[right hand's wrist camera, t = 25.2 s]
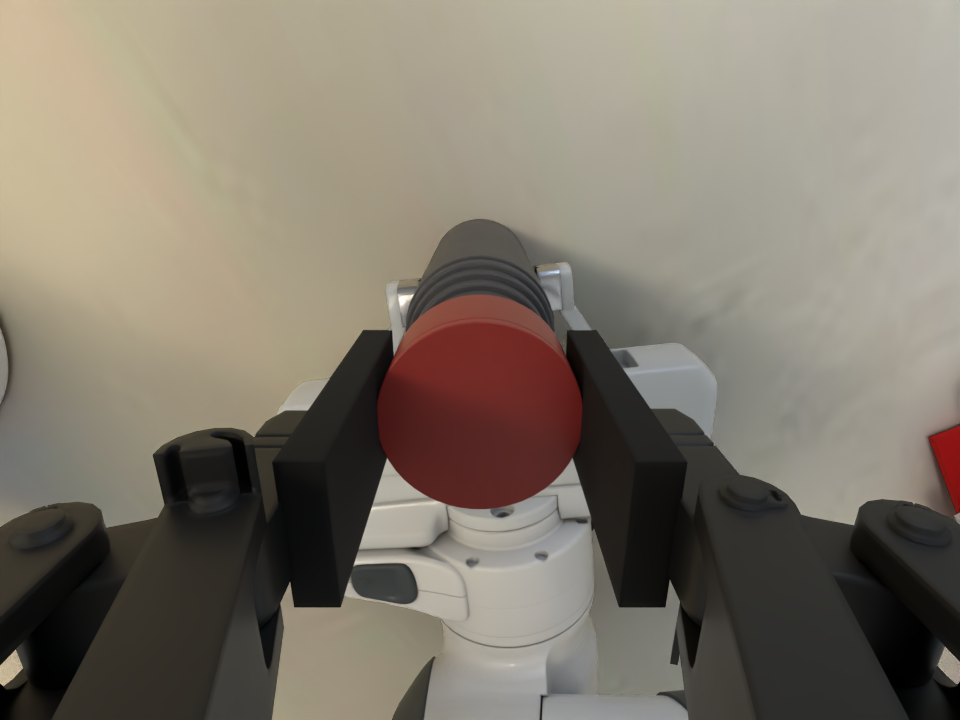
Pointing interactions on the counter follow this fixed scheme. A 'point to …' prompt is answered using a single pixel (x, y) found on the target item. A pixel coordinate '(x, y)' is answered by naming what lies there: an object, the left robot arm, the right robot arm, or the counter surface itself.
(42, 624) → the right robot arm
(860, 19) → the counter surface
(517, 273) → the bottle
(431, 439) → the cap
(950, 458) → the toy
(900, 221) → the counter surface
